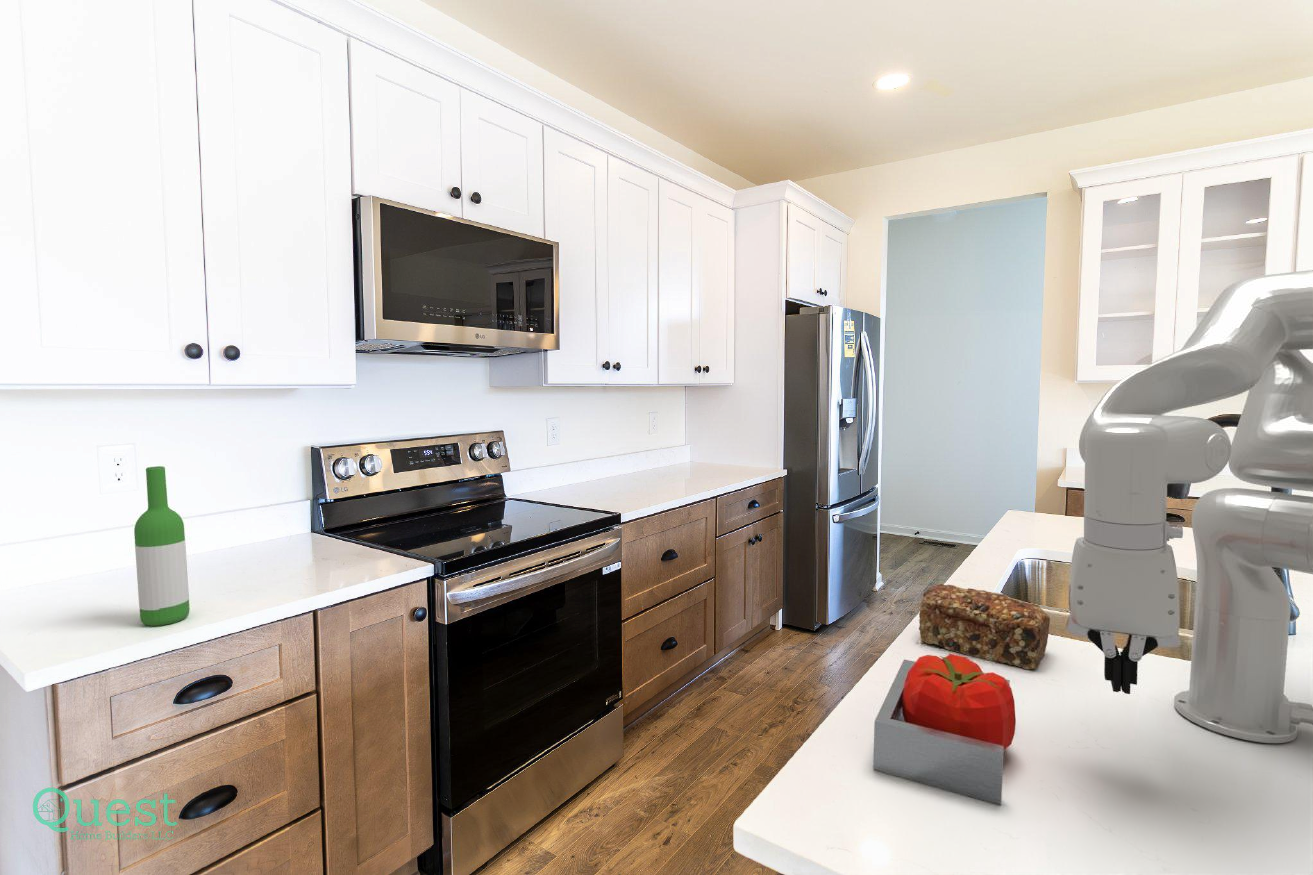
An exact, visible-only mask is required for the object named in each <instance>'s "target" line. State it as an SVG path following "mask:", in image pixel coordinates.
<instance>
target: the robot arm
mask: <svg viewBox="0 0 1313 875" xmlns="http://www.w3.org/2000/svg"><path fill="white" fill-rule="evenodd" d="M1302 350H1305V351H1306V350H1313V269H1309V270H1300V271H1291V272H1282V273H1272V274H1265V275H1257V276H1251V277H1247V278H1243V279H1241V280H1238V281H1236V282H1234V283H1232V284H1231V285H1229V286H1228V287H1226V288H1225V289H1224V290H1223V291H1222V292H1221V293H1220V294H1219V296H1217V298H1216V300H1214V302H1213V303H1212V305H1211V306H1210V308H1209V309H1208V311H1207V312H1206V313H1205V315H1204V316H1203V318H1202V319H1201V321H1200V322H1199V323H1198V325H1197V327H1196V328H1195V329H1194V331H1193V332H1192V334H1191V335H1190V337H1188V339H1187V341H1186V342H1185V343H1184V345H1183V347H1182V348H1181V349H1180V350H1177V351H1175V352H1172V353H1170V354H1169V355H1167V356H1164V357H1161V358H1160V359H1158V360H1156V361H1154V362H1152V363H1150V364H1148V365H1146V366H1144V367H1142V368H1141V369H1138V370H1137V371H1135V372H1132V373H1131V374H1129V375H1127V376H1126V377H1124V378H1122V379H1121V380H1119V381H1118V382H1117V383H1115V384H1114V385H1113V386H1111V387H1110V389H1109V390H1108V391H1107V392H1105V394H1104V395H1103V396H1102V397H1101V399H1100V400H1099V402H1098V403H1097V404H1096V405H1095V407H1094V408H1093V409H1092V411H1091V413H1090V414H1089V416H1088V418H1086V421H1085V423H1084V425H1083V426H1082V430H1081V431H1080V435H1079V440H1078V452H1079V454H1080V458H1081V459H1082V461H1083V462H1084V490H1083V491H1084V492H1083V493H1084V496H1083V497H1084V498H1083V499H1084V502H1083V536H1082V537H1078V538H1076V540H1075V543H1074V547H1073V551H1072V556H1071V562H1070V563H1071V564H1070V572H1069V573H1070V574H1069V582H1068V583H1069V586H1068V587H1069V588H1068V609H1069V615H1068V619H1067V621H1066V626H1065V627H1066V631H1067V632H1068V633H1069V634H1072V635H1076V636H1077V637H1081V638H1084V639H1085V638H1086V639H1088V640H1089V641H1091V643H1092V644H1094V646H1096V647H1097V648H1098V649H1099V650H1100V651H1101V652H1102V654H1103V655H1104V666H1103V667H1104V668H1103V670H1104V671H1103V673H1104V680H1105V681H1108V682H1109V681H1110V683H1111V688H1112V691H1113V692H1115V693H1119V692H1123V693H1124V694H1126V695H1130V694H1131V685H1135V686H1137V685H1138V666H1139V665H1138V663H1139V662H1141V660H1142V658H1143V657H1144V656H1146V655H1147V654H1149V653H1150V652H1152V651H1154V650H1155V649H1156V648H1160V649H1162V648H1163V649H1164V648H1177V647H1180V646H1181V645H1182V640H1181V637H1180V634H1179V631H1180V622H1181V621H1180V617H1181V616H1180V614H1181V612H1180V594H1179V593H1180V592H1179V591H1180V590H1179V578H1178V573H1177V564H1176V559H1175V554H1174V550H1173V547H1172V545H1171V544H1168V542H1170V539H1171V540H1174V539H1183V536H1184V531H1183V526H1181V525H1174V524H1173V523H1169V521H1167V510H1168V509H1167V508H1168V506H1167V502H1168V501H1167V500H1168V485H1169V484H1197V483H1202V482H1206V481H1209V480H1211V479H1213V478H1214V477H1216V476H1218V474H1220V473H1221V472H1222V471H1223V470H1224V469H1225V467H1226V466H1227V465H1228V469H1229V470H1230V472H1231V474H1232V475H1233V476H1234V477H1235V478H1237V479H1239V480H1240V481H1243V482H1246V483H1249V484H1252V485H1256V486H1263V487H1269V488H1278V489H1284V490H1285V489H1286V490H1294V491H1303V492H1310V493H1311V492H1313V362H1312V361H1311V360H1309V359H1308V358H1307V357H1306V356H1305V355H1304V354H1303V353H1302V352H1301V351H1302ZM1245 392H1248V394H1247V397H1246V400H1245V403H1244V407H1243V409H1242V412H1241V415H1240V418H1239V420H1238V424H1237V426H1236V429H1235V432H1234V436H1233V439H1232V442H1231V439H1230V437H1229V435H1228V432H1226V431H1225V429H1224V428H1223V427H1222V426H1221V425H1219V424H1218V423H1217V422H1215V421H1212V420H1210V419H1206V418H1203V417H1197V416H1195V417H1194V416H1186V415H1182V416H1181V415H1165V414H1167V413H1171V412H1175V411H1179V410H1181V409H1187V408H1192V407H1197V406H1202V405H1206V404H1211V403H1215V402H1219V401H1222V400H1225V399H1229V398H1232V397H1236V396H1238V395H1241V394H1244V393H1245ZM1191 528H1192V535H1193V542H1194V547H1195V554H1196V556H1195V557H1196V587H1195V602H1194V603H1195V604H1194V615H1193V616H1194V617H1193V628H1192V629H1193V630H1192V642H1191V643H1192V644H1191V645H1192V646H1191V658H1190V659H1191V663H1190V674H1189V675H1190V678H1189V685H1188V686H1189V689H1188V690H1184V691H1181V692H1180V691H1179V692H1178V693H1177V694H1175V695H1174V702H1173V705H1174V708H1175V709H1176V710H1177V712H1178V713H1179V714H1180V715H1182V716H1183V717H1185V718H1186V719H1187V720H1188V721H1190V722H1193V723H1195V724H1196V725H1198V726H1200V727H1203V728H1205V729H1208V730H1210V731H1212V732H1215V733H1218V734H1221V735H1225V736H1228V737H1231V738H1235V739H1240V740H1244V741H1248V742H1249V741H1250V742H1256V743H1264V744H1285V743H1289V742H1292V741H1294V740H1295V739H1296V738H1297V737H1298V726H1297V725H1300V724H1301V723H1305V724H1310V725H1312V726H1313V704H1310V703H1304V702H1296V701H1291V700H1289V698H1287V697H1286V695H1285V682H1286V681H1285V680H1286V672H1287V670H1286V669H1287V668H1286V667H1287V656H1288V646H1289V632H1290V621H1291V611H1292V607H1291V606H1292V605H1291V604H1292V603H1291V598H1290V595H1289V593H1288V590H1287V588H1286V587H1285V584H1284V583H1283V581H1282V580H1281V578H1280V576H1278V574H1277V573H1276V572H1275V570H1274V569H1273V568H1278V569H1284V570H1288V571H1294V572H1299V573H1305V574H1309V575H1313V496H1310V495H1308V496H1307V495H1301V494H1300V495H1299V494H1291V493H1286V492H1277V491H1269V490H1260V489H1253V488H1252V489H1251V488H1242V487H1240V488H1238V487H1230V488H1227V487H1226V488H1216V489H1213V490H1210V491H1208V492H1206V493H1204V494H1203V495H1201V496H1200V497H1199V498H1198V499H1197V501H1196V502H1195V504H1194V506H1193V508H1192V512H1191ZM1114 634H1122V635H1127V638H1126V642H1125V643H1126V644H1125V646H1124V647H1123V648H1122V649H1121V651H1119V648H1118V646H1117V645H1116V644H1115V638H1114Z"/></svg>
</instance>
